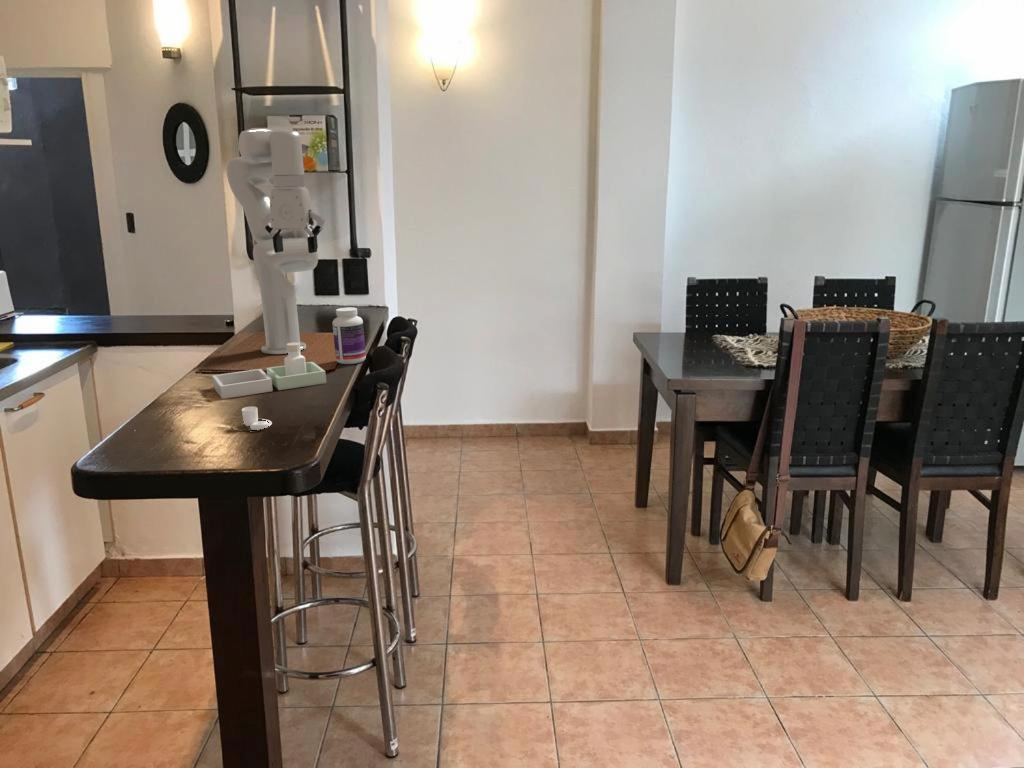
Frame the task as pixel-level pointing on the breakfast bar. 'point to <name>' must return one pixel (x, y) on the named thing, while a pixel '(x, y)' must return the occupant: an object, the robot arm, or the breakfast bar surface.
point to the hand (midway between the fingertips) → (296, 252)
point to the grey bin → (242, 383)
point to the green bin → (296, 377)
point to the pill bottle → (348, 336)
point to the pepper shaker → (294, 360)
